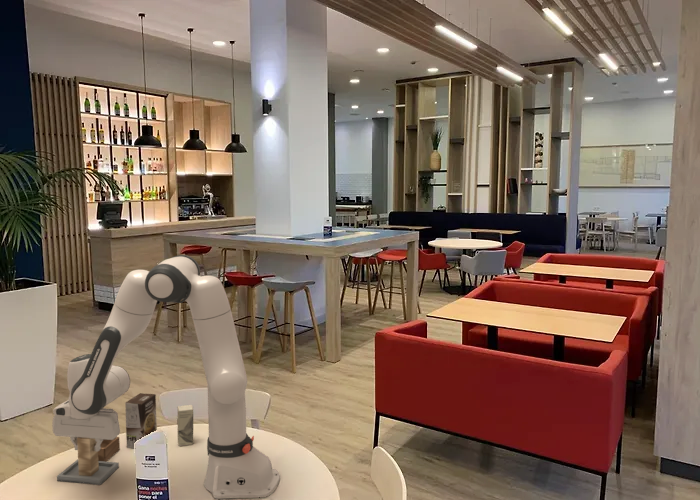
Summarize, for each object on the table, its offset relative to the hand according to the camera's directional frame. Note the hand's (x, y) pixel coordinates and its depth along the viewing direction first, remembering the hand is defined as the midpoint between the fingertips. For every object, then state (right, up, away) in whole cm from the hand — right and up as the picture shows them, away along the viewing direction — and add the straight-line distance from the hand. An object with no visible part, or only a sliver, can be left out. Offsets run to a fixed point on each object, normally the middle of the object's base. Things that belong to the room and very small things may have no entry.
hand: (87, 450), depth 164 cm
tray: (0, -8, +1) cm, 8 cm away
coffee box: (+9, -6, +21) cm, 24 cm away
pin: (0, -7, +1) cm, 7 cm away
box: (+24, -6, +22) cm, 33 cm away
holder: (-2, -6, +13) cm, 14 cm away
